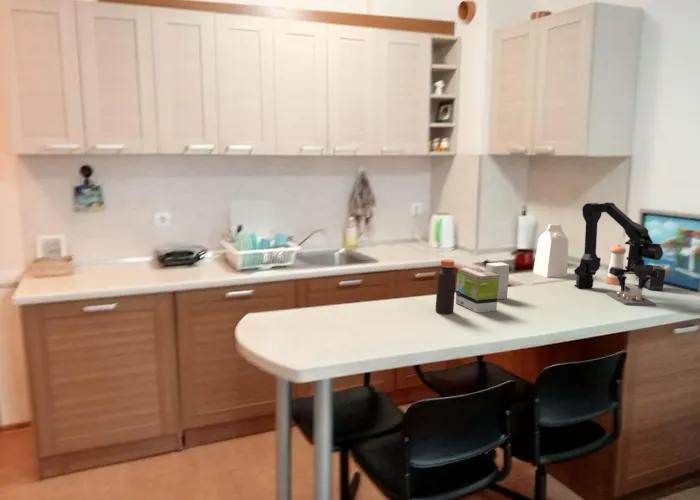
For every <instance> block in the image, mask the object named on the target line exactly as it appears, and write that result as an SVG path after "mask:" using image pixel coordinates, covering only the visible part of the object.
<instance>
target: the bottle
mask: <svg viewBox="0 0 700 500" xmlns="http://www.w3.org/2000/svg"><path fill="white" fill-rule="evenodd" d="M454 267H455V261H454V260H451V259H441V260H440V268H441V270H440V271H439V272H438V273H437V283H436V296H435V297H436V298H435V312H436V313H437V314H441V315H452V314H453V313H454V309H455V308H454V307H455V306H454V305H455V296H456V282H457V274H456V272H455V271H454Z"/></svg>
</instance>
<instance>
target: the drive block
mask: <svg viewBox="0 0 700 500" xmlns="http://www.w3.org/2000/svg"><path fill="white" fill-rule="evenodd" d="M643 290H644V289H643V288H642V289H641V288H639V287H638V286H637V285H634V284H632V283H631V284H630V283H625V289H624V291H622V289H621V288H620V292H621V296H623V294H624V295H626V299H628V300H636V297H640V299H639V301H641V299H642V295H643Z"/></svg>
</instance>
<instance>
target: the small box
mask: <svg viewBox="0 0 700 500" xmlns="http://www.w3.org/2000/svg"><path fill="white" fill-rule="evenodd" d="M651 265H652V266H653V269H654V270H657V271H658V277H652V279H649V280H648V281H647V282H646V283H645V285H644V286H643V287H644V288H646V289H647V290H649V291H659V292H663V290H664V283H665V277H666V268H663V267H662V266H660V265H654V264H651Z"/></svg>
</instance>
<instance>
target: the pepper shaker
mask: <svg viewBox="0 0 700 500" xmlns="http://www.w3.org/2000/svg"><path fill="white" fill-rule="evenodd" d="M609 252H611V254H610V255H611V257H610V262H609V265H608V268H607V269H608V271H607V275H606V278H605V280H606V283H607V284H609V285H615V286H620V283H619V280H618V278H617V276H615V275H612V274H610V273H609V271H610V268H611V267H620V268H622V269H624V255H625V253H626V252H627V250H626V248H625V247H624V246H621V244H617V245H614V246H611V248H610V250H609Z"/></svg>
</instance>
